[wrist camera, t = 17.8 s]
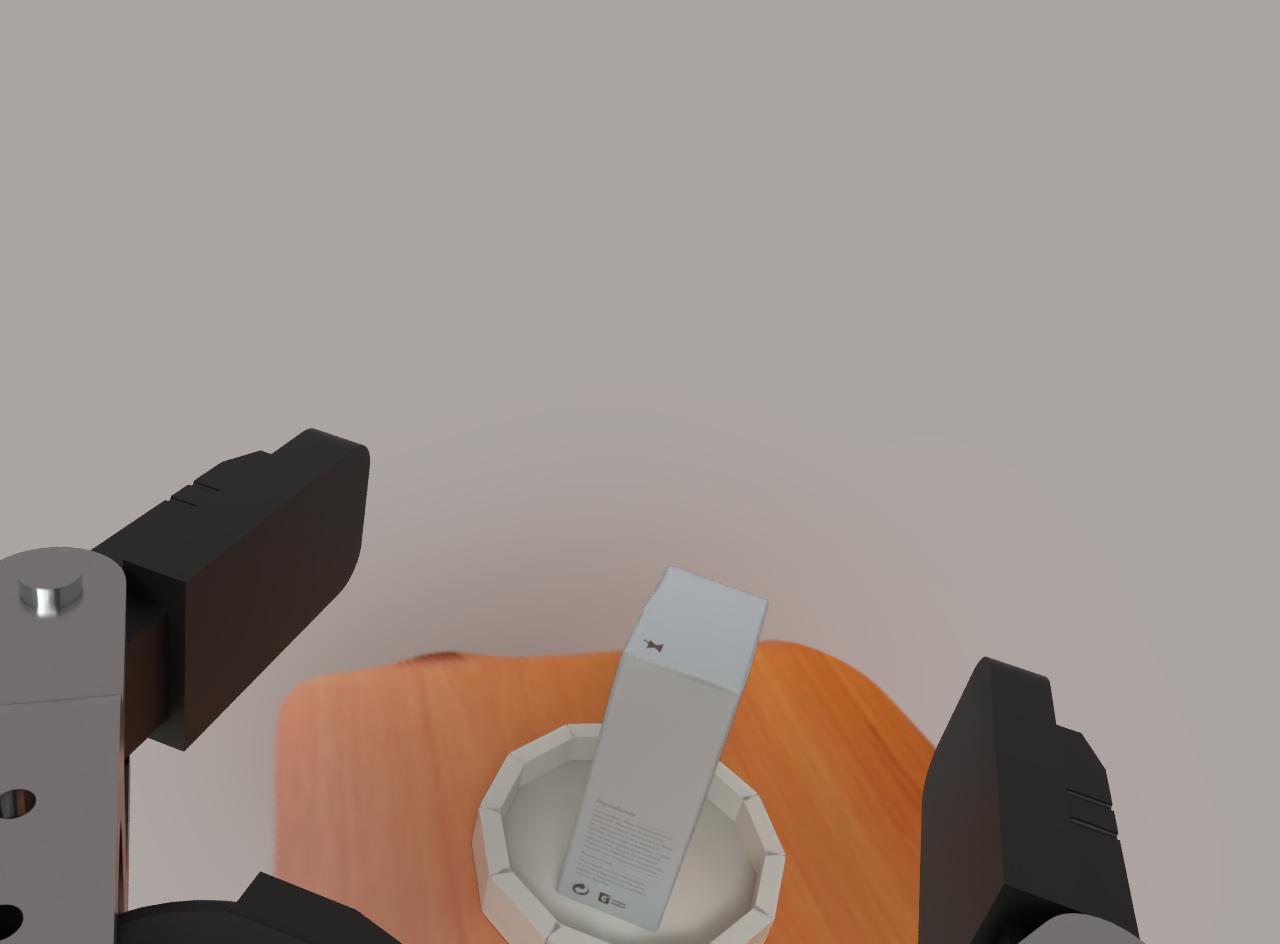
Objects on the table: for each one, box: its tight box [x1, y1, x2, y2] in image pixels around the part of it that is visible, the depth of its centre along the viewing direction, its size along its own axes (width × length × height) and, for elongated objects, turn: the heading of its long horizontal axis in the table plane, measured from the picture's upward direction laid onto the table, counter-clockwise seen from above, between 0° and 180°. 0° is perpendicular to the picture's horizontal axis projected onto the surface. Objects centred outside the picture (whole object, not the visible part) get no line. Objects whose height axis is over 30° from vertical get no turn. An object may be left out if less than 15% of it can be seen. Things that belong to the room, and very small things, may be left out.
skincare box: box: [556, 566, 769, 932], centre depth 39 cm, size 6×4×12 cm
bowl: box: [472, 723, 786, 944], centre depth 42 cm, size 12×12×2 cm
